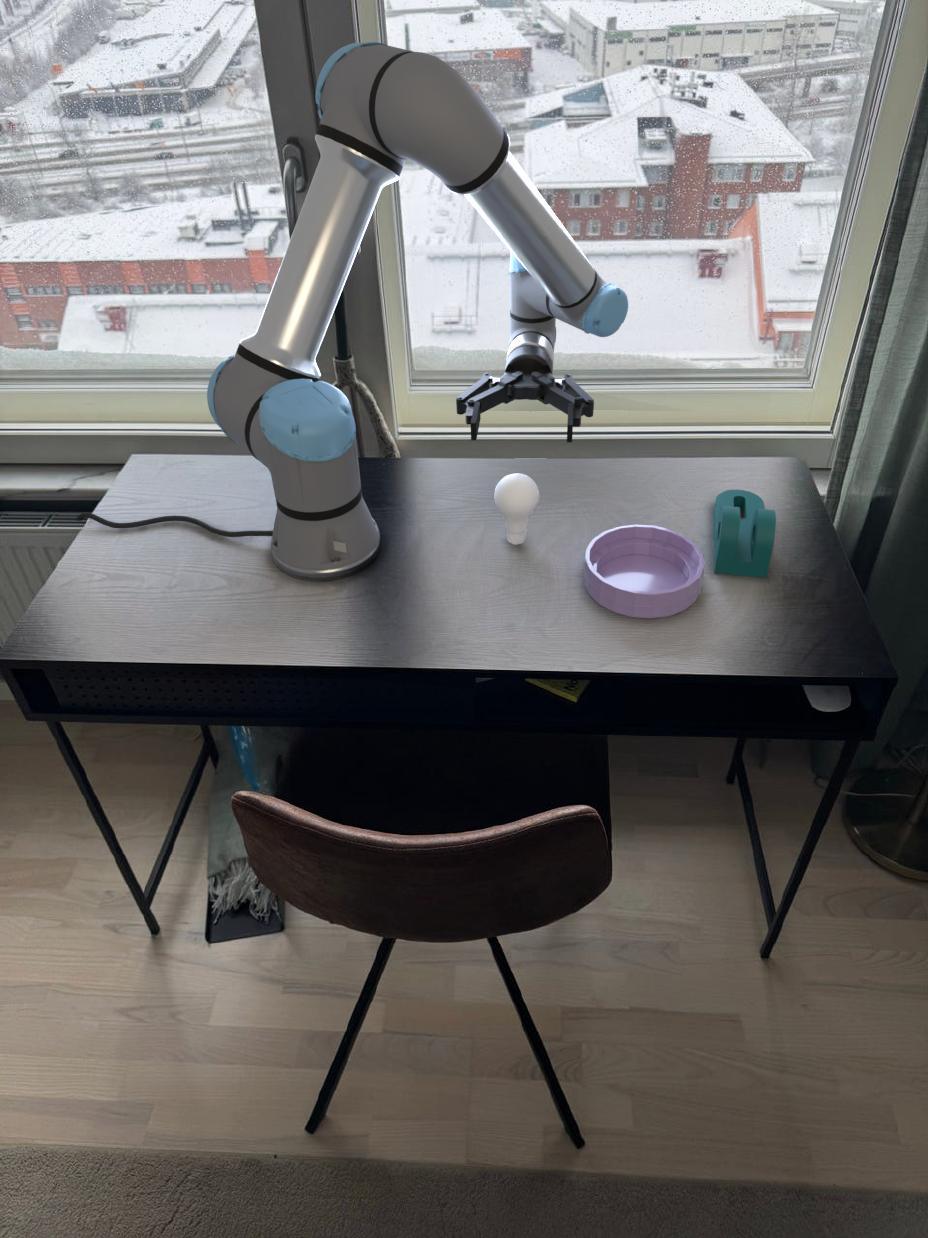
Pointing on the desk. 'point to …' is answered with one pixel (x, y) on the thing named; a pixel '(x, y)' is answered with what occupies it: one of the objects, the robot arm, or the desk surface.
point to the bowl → (643, 571)
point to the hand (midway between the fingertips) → (521, 432)
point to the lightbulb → (516, 504)
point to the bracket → (742, 534)
